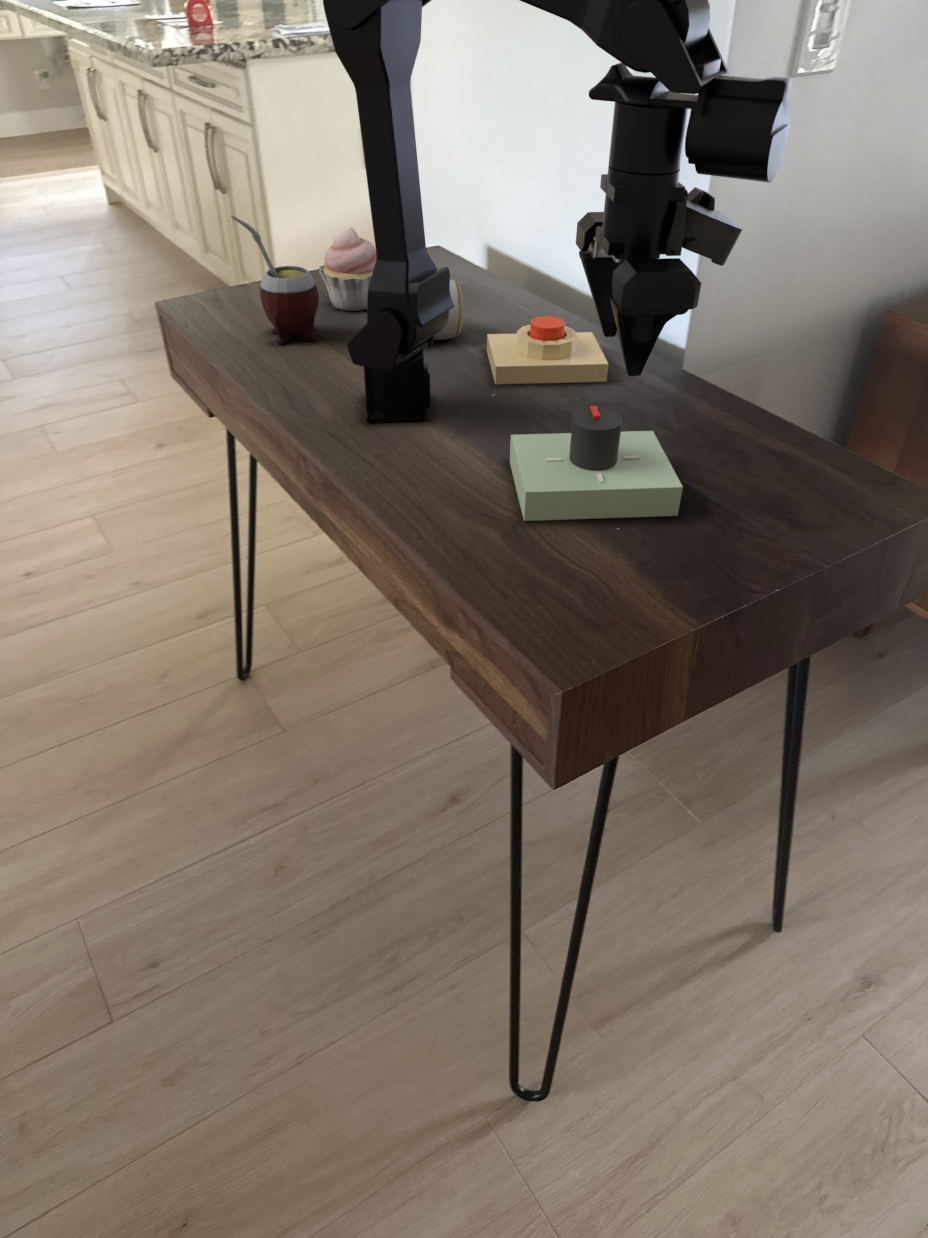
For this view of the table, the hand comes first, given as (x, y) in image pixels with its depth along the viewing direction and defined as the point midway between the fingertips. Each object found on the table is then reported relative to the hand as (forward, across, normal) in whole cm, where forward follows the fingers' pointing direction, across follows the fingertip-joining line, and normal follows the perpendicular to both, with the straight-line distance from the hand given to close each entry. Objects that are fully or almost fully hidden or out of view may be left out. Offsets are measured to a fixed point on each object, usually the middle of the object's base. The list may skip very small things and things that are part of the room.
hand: (621, 354), depth 82 cm
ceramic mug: (+11, +36, +16) cm, 41 cm away
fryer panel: (+11, -5, +3) cm, 12 cm away
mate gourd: (+11, +36, +33) cm, 50 cm away
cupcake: (+11, +48, +24) cm, 55 cm away
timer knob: (+8, -5, +3) cm, 10 cm away
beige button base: (+11, +24, +2) cm, 27 cm away
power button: (+7, +24, +2) cm, 26 cm away
